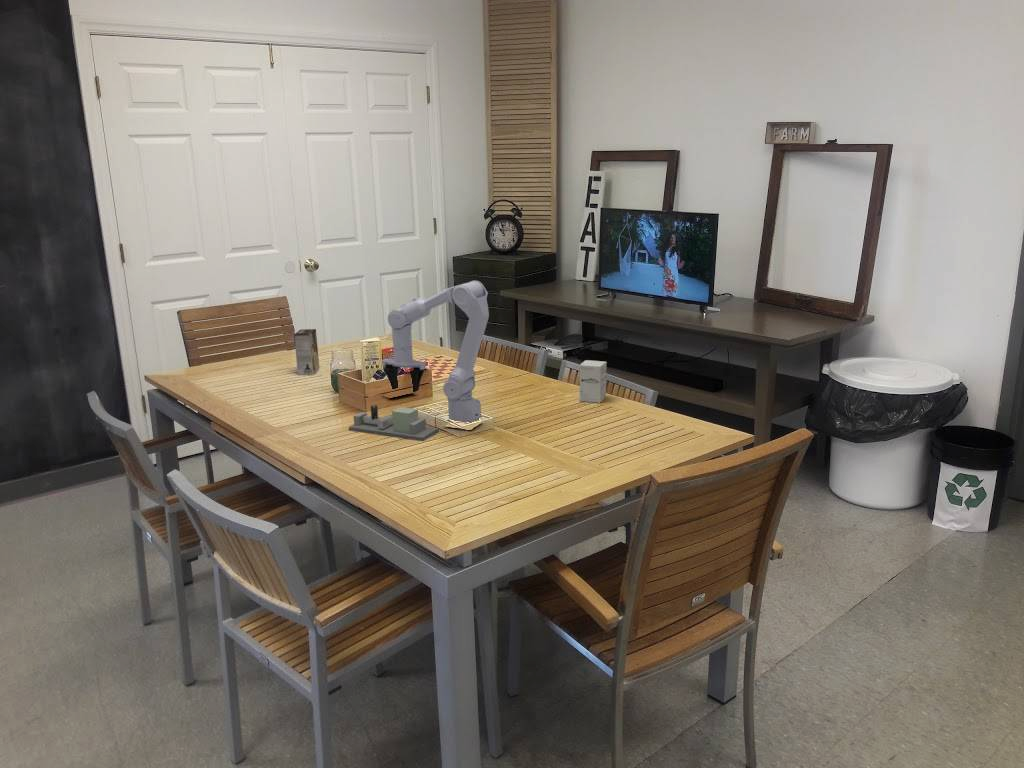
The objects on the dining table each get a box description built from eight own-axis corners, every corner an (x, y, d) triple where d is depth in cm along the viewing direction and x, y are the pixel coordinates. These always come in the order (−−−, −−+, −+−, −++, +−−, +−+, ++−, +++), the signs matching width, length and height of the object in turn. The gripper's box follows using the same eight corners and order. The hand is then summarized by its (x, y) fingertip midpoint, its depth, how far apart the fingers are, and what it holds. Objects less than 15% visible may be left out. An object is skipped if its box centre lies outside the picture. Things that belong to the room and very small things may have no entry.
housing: (418, 428, 244) (417, 409, 242) (410, 432, 240) (409, 413, 238) (401, 425, 246) (400, 406, 244) (393, 430, 242) (392, 411, 240)
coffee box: (303, 369, 319) (299, 329, 315) (320, 369, 319) (316, 328, 315) (297, 375, 310) (293, 334, 306) (314, 375, 310) (310, 333, 306)
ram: (394, 423, 248) (393, 405, 246) (383, 429, 243) (382, 410, 241) (369, 419, 252) (368, 402, 250) (358, 425, 246) (357, 407, 245)
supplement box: (578, 401, 270) (578, 364, 266) (585, 395, 276) (585, 359, 273) (600, 403, 267) (600, 366, 263) (606, 397, 273) (606, 360, 270)
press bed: (438, 431, 243) (438, 418, 242) (422, 440, 236) (422, 427, 235) (366, 421, 254) (365, 409, 253) (349, 430, 246) (348, 417, 245)
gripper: (429, 346, 251) (432, 388, 254) (389, 342, 257) (392, 384, 260) (418, 351, 245) (420, 394, 248) (377, 347, 250) (380, 390, 254)
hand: (405, 389), depth 254 cm, fingers open, 7 cm apart
